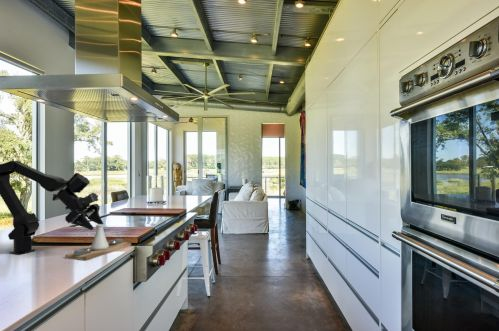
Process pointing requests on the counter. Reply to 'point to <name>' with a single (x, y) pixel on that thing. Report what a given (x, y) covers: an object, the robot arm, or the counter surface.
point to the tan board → (98, 252)
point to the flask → (99, 239)
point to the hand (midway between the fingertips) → (97, 226)
